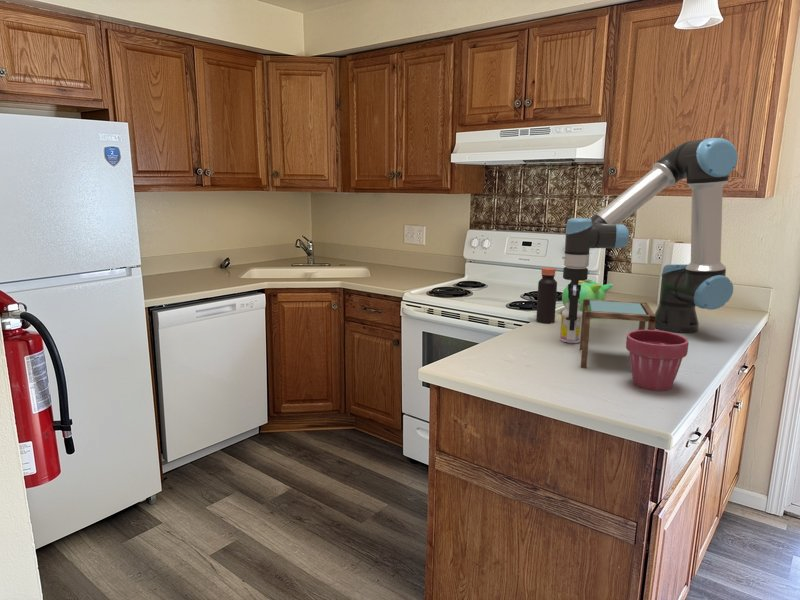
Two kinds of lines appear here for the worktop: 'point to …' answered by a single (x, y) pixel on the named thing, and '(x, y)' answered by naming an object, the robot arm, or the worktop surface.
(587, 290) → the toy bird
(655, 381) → the plant pot
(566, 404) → the worktop surface
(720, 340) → the worktop surface
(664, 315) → the robot arm
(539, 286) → the vinegar
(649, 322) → the frame
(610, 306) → the trapdoor
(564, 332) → the supplement bottle
